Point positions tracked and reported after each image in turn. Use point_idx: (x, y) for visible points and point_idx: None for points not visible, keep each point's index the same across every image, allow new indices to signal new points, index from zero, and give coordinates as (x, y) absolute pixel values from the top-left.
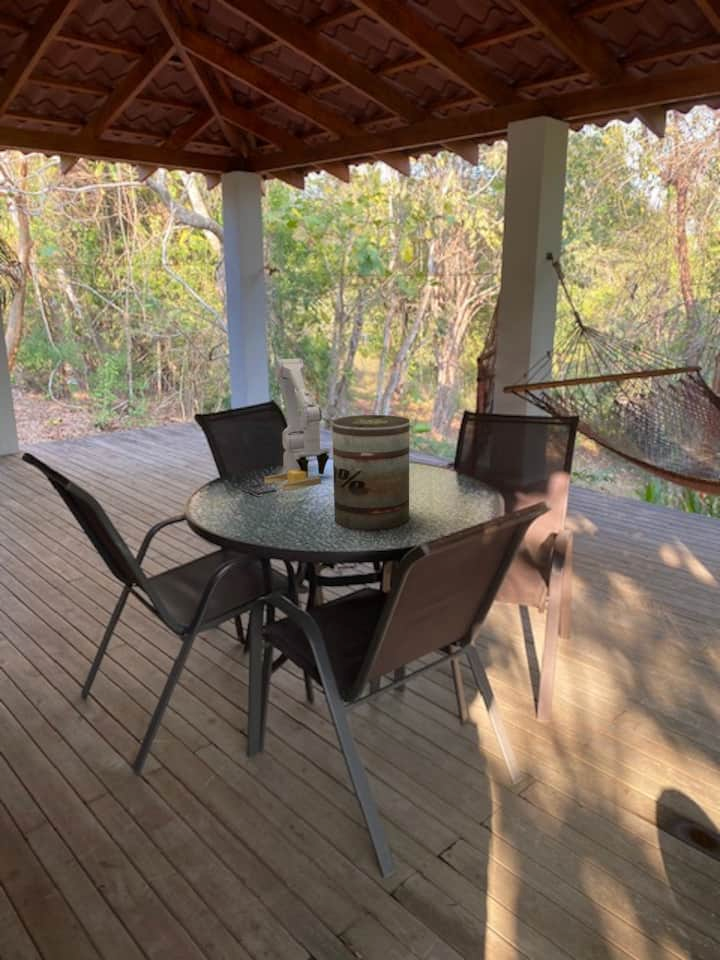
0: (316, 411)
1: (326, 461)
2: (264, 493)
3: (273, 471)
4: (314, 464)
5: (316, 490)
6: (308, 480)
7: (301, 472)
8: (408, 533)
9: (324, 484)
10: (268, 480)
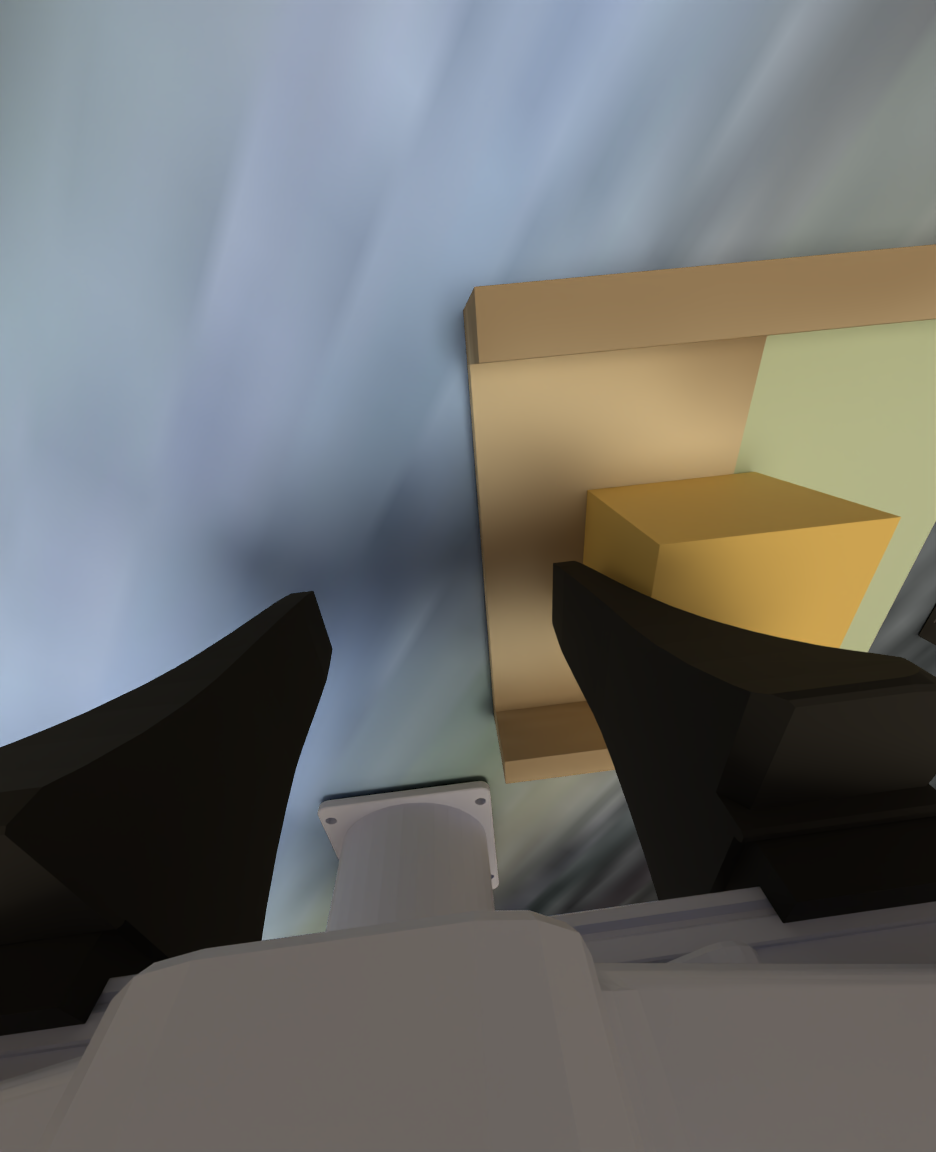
0: None
1: (96, 713)
2: None
3: (529, 896)
4: None
5: (690, 36)
6: (758, 264)
7: (750, 544)
8: None
9: (389, 350)
10: None
